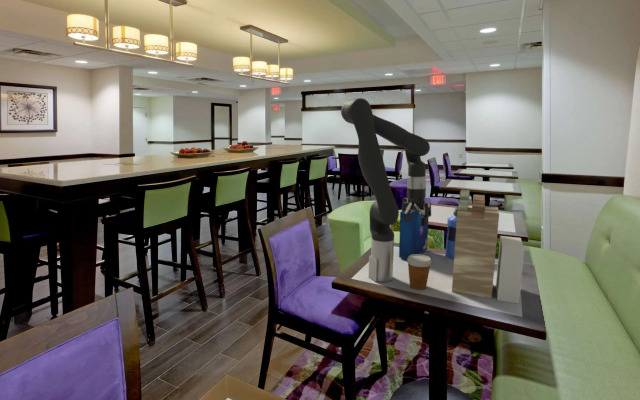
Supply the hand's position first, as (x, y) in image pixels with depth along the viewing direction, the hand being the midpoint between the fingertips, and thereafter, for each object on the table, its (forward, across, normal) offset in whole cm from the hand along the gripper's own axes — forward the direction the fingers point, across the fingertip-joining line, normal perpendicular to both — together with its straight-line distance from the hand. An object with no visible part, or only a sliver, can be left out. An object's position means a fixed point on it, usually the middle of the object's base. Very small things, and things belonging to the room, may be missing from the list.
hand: (415, 224), depth 158 cm
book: (+23, -17, +17) cm, 33 cm away
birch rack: (+22, +24, +7) cm, 33 cm away
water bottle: (+24, -4, +33) cm, 41 cm away
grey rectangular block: (+23, +34, +13) cm, 43 cm away
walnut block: (-10, +26, +5) cm, 28 cm away
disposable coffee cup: (+22, +11, -10) cm, 27 cm away
